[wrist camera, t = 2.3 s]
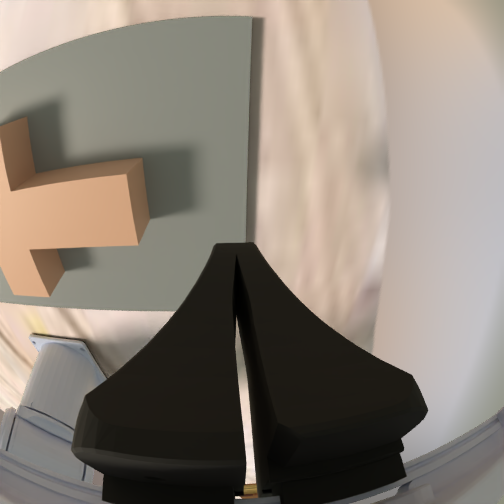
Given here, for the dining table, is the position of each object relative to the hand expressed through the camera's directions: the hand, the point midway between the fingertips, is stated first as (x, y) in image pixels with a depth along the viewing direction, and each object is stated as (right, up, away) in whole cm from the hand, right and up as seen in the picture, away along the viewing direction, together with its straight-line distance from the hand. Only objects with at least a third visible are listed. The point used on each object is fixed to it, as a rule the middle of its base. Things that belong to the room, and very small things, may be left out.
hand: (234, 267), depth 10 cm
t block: (-12, +4, +5) cm, 13 cm away
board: (-17, +4, +5) cm, 18 cm away
